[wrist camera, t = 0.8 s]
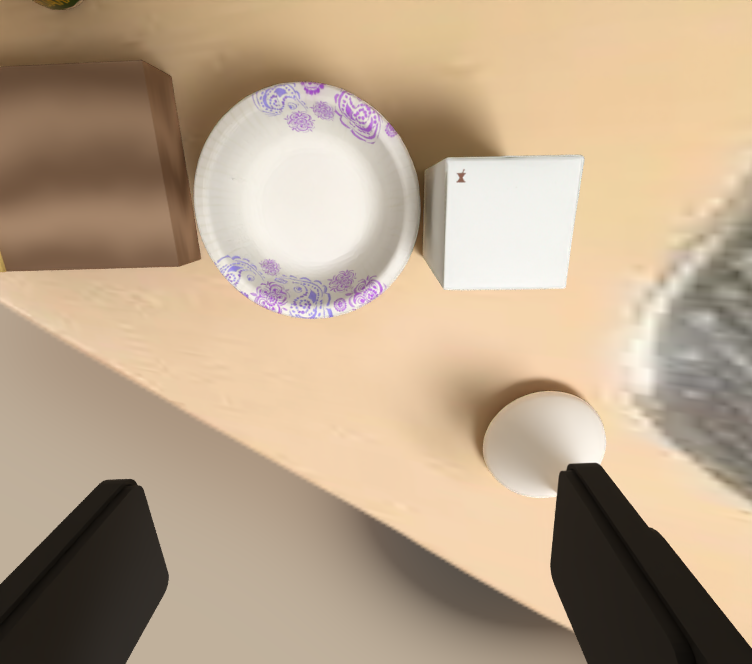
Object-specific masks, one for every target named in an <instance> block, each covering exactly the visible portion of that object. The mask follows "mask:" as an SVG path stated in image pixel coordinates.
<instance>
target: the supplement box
mask: <svg viewBox="0 0 752 664" xmlns="http://www.w3.org/2000/svg"><path fill="white" fill-rule="evenodd" d="M583 165H584V157H583V156H582V155H542V156H497V157H447V158H445V159H443V160H442V161H440V162H438V163H437V164H435V165H433V166H431V167H430V168H428V169H426V170H425V181H424V212H423V258H424V260H425V261H426V263H427V264H428V266H429V267H430V269H431V270H432V272H433V274H434V275H435V277H436V278H437V280H438V281H439V283H440V284H441V286H442V287H443V289H444V290H516V289H563V288H565V287H566V281H567V273H568V266H569V258H570V250H571V243H572V235H573V228H574V222H575V216H576V209H577V203H578V197H579V191H580V184H581V177H582V171H583Z"/></svg>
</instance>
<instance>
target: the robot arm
mask: <svg viewBox="0 0 752 664" xmlns="http://www.w3.org/2000/svg"><path fill="white" fill-rule="evenodd" d="M550 567H551V575H552V579H553V582H554V585H555V587H556V590H557V592H558V594H559V597H560V599H561V602H562V604H563V606H564V609H565V611H566V613H567V616H568V618H569V620H570V623H571V625H572V628H573V630H574V632H575V635H576V637H577V639H578V642H579V644H580V646H581V649H582V651H583V654H584V656H585V658H586V661H587V663H588V664H752V648H751V647H750V646H749V644H748V643H747V642H746V641H745V639H744V638H743V637H742V636H741V634H740V633H739V632H738V631H737V629H736V628H735V627H734V626H733V624H732V623H731V622H730V621H729V619H728V618H727V617H726V615H725V614H724V613H723V612H722V610H721V609H720V608H719V607H718V605H717V604H716V603H715V602H714V600H713V599H712V598H711V597H710V595H709V594H708V593H707V592H706V590H705V589H704V588H703V587H702V585H701V584H700V583H699V582H698V580H697V579H696V578H695V576H694V575H693V574H692V573H691V571H690V570H689V569H688V568H687V566H686V565H685V564H684V563H683V561H682V560H681V559H680V558H679V556H678V555H677V554H676V553H675V551H674V550H673V549H672V548H671V546H670V545H669V544H668V543H667V541H666V540H665V539H664V538H663V536H662V535H661V534H660V533H659V532H658V531H656V530H654V529H653V528H649V527H648V526H647V524H646V523H645V522H644V521H643V519H642V518H641V517H640V515H639V514H638V513H637V512H636V510H635V509H634V508H633V506H632V505H631V504H630V503H629V501H628V500H627V499H626V497H625V496H624V495H623V494H622V492H621V491H620V490H619V488H618V487H617V486H616V484H615V483H614V482H613V481H612V479H611V478H610V477H609V475H608V474H607V473H606V472H605V470H604V469H603V468H602V466H601V465H599V464H598V463H571V464H568V466H567V469H566V471H560V473H559V478H558V489H557V499H556V510H555V521H554V531H553V542H552V553H551V563H550ZM168 580H169V575H168V571H167V568H166V564H165V561H164V557H163V554H162V551H161V547H160V544H159V540H158V537H157V533H156V530H155V527H154V523H153V520H152V517H151V513H150V510H149V506H148V503H147V500H146V496H145V493H144V490H143V488H142V487H141V486H138V485H137V483H136V482H135V481H134V480H132V479H116V480H105V481H103V482H101V483H100V484H99V485H98V486H97V487H96V488H95V489H94V490H93V491H92V492H91V493H90V494H89V495H88V496H87V497H86V498H85V499H84V500H83V501H82V502H81V503H80V504H79V505H78V506H77V507H76V508H75V509H74V510H73V511H72V513H70V514H69V515H68V516H67V517H66V518H65V519H64V520H63V521H62V522H61V524H59V525H58V527H57V528H56V529H55V530H53V532H52V533H51V534H50V535H49V536H48V537H47V538H46V539H45V540H44V541H43V542H42V543H41V544H40V545H39V546H38V547H37V548H36V549H35V550H34V551H33V552H32V553H31V554H30V555H29V556H28V557H27V558H26V559H25V560H24V561H23V562H22V563H21V564H20V565H19V566H18V567H17V568H16V569H15V570H14V571H13V572H12V573H11V574H10V575H9V576H8V577H7V578H6V579H5V580H4V581H3V582H2V583H1V584H0V664H126V662H127V660H128V658H129V656H130V655H131V653H132V651H133V649H134V647H135V646H136V644H137V642H138V640H139V638H140V636H141V635H142V633H143V631H144V629H145V627H146V626H147V624H148V622H149V620H150V618H151V617H152V615H153V613H154V611H155V609H156V608H157V606H158V604H159V602H160V601H161V599H162V597H163V595H164V593H165V591H166V589H167V585H168Z"/></svg>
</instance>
